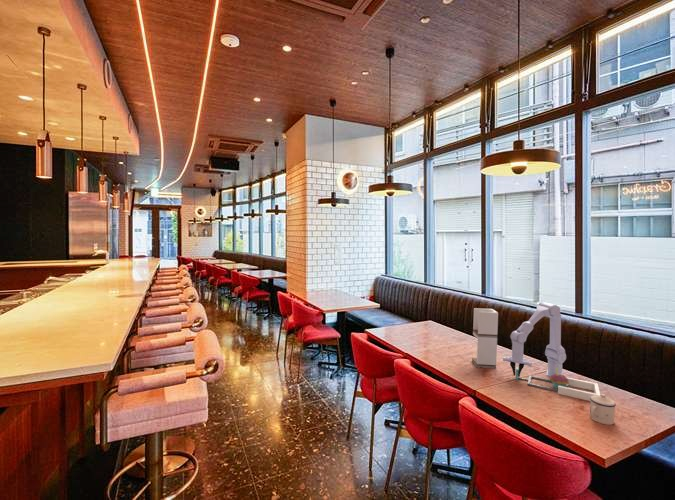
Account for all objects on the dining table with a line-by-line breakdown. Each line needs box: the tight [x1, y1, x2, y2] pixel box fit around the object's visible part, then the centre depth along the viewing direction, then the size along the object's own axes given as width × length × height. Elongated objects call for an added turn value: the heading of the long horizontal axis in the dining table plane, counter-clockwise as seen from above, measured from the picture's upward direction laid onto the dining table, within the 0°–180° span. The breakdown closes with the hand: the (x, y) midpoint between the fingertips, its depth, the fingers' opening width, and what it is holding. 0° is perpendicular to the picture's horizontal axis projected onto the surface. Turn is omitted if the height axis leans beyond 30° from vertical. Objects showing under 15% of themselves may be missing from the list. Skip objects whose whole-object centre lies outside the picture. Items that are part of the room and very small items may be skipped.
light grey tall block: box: [471, 307, 499, 369], centre depth 216 cm, size 11×11×35 cm
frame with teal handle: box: [515, 366, 569, 393], centre depth 189 cm, size 13×25×6 cm, turn 56°
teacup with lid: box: [589, 393, 617, 426], centre depth 152 cm, size 12×9×12 cm
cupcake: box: [549, 366, 569, 389], centre depth 184 cm, size 9×8×12 cm
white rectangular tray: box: [557, 376, 601, 402], centre depth 179 cm, size 17×18×4 cm
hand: (516, 375), depth 195 cm, fingers closed
